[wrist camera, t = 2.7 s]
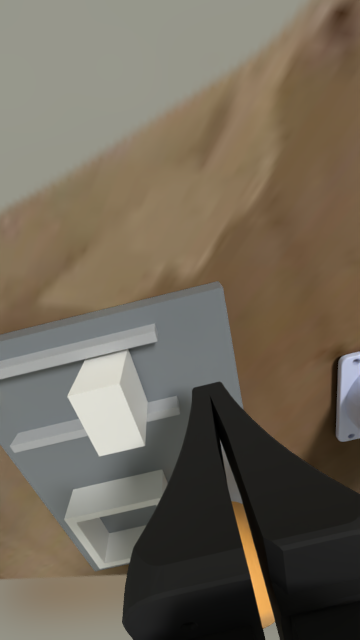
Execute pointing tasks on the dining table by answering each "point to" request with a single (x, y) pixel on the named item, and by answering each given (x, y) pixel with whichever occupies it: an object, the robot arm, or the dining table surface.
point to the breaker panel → (68, 432)
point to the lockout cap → (253, 566)
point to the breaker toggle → (110, 402)
